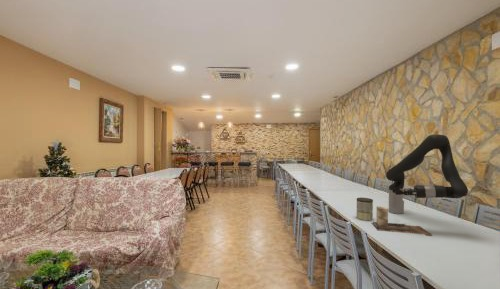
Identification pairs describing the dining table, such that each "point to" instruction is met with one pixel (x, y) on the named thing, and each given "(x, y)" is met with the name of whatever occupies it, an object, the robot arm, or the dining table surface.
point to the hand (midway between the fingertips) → (393, 191)
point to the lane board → (402, 228)
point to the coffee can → (365, 209)
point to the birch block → (382, 216)
